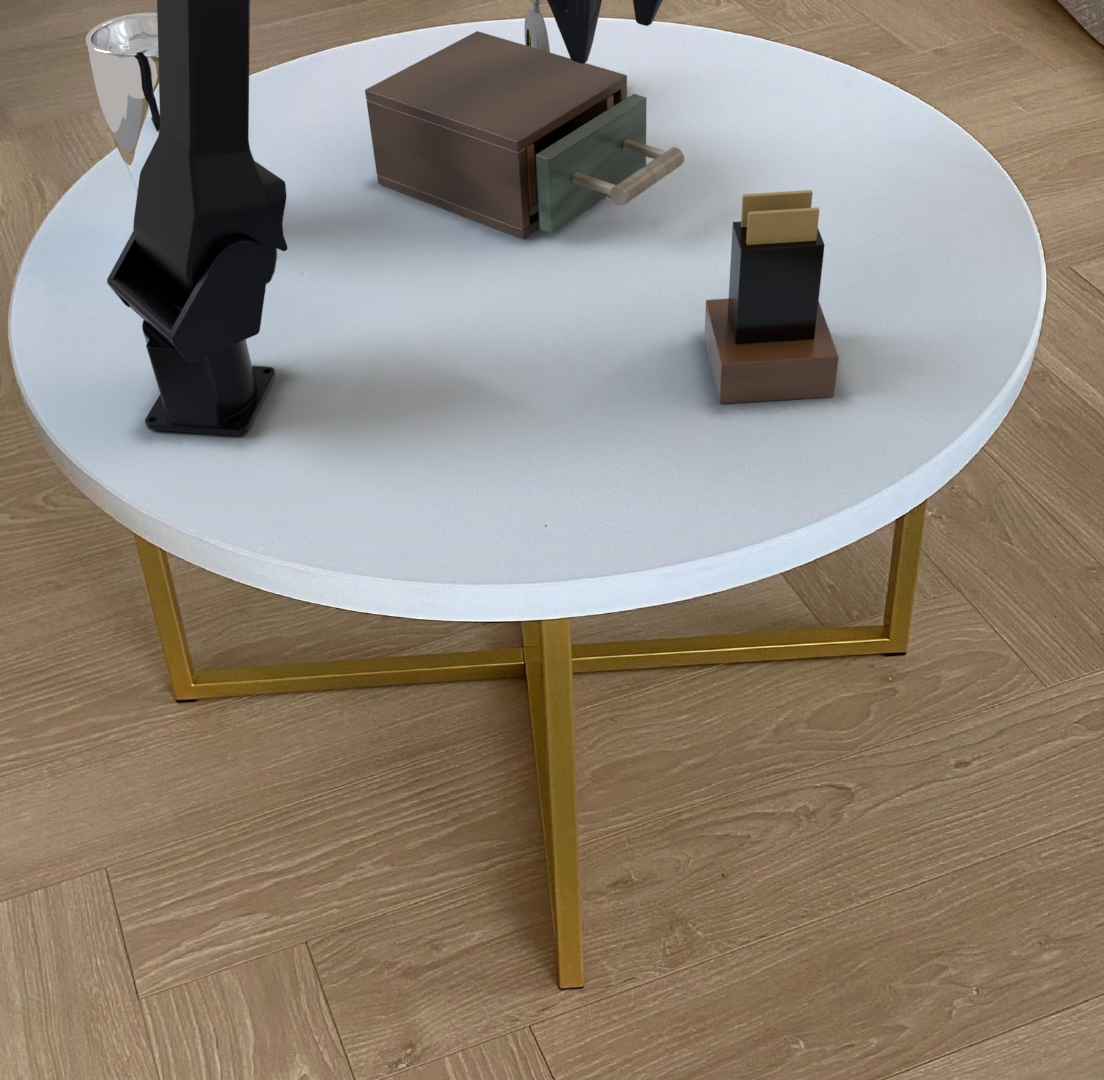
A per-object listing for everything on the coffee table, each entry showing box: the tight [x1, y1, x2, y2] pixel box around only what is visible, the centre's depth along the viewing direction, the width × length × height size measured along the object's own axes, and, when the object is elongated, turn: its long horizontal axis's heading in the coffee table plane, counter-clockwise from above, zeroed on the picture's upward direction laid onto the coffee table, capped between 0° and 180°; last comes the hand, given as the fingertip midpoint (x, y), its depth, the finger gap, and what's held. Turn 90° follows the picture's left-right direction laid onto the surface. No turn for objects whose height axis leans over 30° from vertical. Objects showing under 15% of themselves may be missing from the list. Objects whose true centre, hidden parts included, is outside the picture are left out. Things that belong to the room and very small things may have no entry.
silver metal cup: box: [85, 12, 160, 192], centre depth 95 cm, size 7×7×15 cm
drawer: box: [525, 93, 685, 234], centre depth 99 cm, size 18×11×6 cm, turn 51°
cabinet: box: [364, 30, 628, 240], centre depth 102 cm, size 15×13×8 cm
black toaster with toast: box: [728, 189, 825, 344], centre depth 80 cm, size 3×5×8 cm
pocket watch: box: [524, 0, 551, 53], centre depth 111 cm, size 8×8×10 cm
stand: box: [703, 297, 839, 405], centre depth 84 cm, size 7×7×3 cm
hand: (612, 42), depth 90 cm, fingers open, 7 cm apart
